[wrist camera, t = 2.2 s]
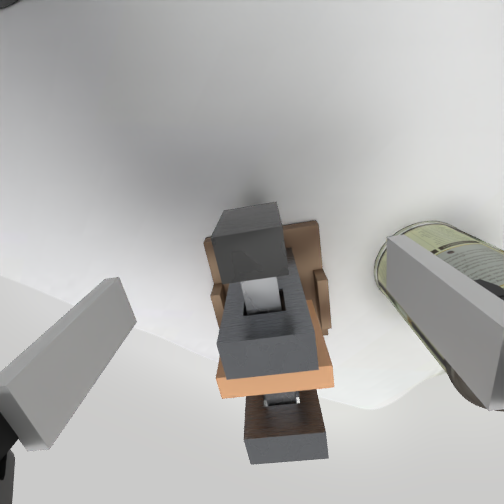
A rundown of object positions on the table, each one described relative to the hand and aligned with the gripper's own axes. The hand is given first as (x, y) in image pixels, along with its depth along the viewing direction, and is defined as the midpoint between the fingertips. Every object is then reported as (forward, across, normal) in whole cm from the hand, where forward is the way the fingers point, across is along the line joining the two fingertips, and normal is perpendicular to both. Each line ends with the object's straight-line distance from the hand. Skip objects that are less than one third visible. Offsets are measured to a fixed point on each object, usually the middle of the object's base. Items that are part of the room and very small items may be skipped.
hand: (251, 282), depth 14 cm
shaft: (+8, 0, -8) cm, 12 cm away
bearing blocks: (+15, 0, -11) cm, 18 cm away
